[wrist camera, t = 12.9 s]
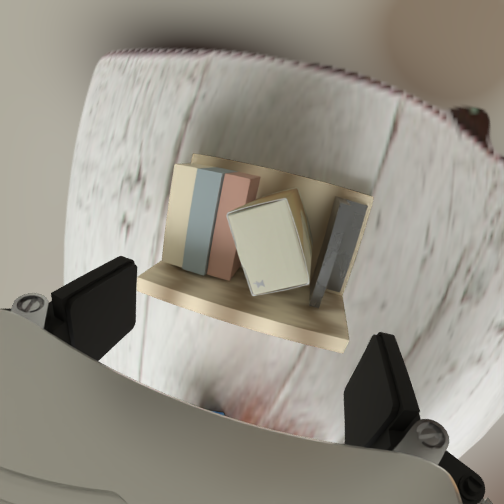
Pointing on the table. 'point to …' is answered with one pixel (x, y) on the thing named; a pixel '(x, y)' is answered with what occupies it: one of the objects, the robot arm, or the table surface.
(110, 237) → the table surface
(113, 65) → the table surface
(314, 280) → the bookend
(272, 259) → the skincare box
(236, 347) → the table surface
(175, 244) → the books
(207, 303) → the shelf
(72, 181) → the table surface
